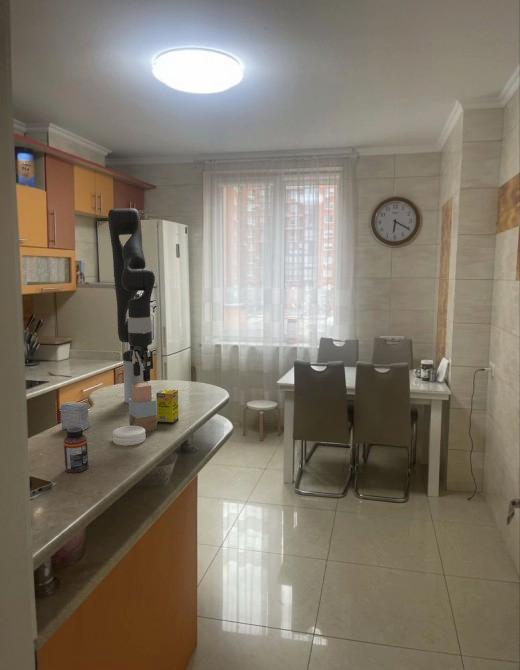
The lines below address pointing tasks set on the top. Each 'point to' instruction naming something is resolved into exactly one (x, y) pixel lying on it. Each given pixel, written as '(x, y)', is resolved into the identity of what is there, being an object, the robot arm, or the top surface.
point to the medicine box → (74, 415)
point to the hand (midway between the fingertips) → (141, 378)
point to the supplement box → (167, 406)
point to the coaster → (129, 435)
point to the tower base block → (144, 422)
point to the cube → (141, 392)
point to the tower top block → (142, 408)
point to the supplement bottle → (75, 450)
